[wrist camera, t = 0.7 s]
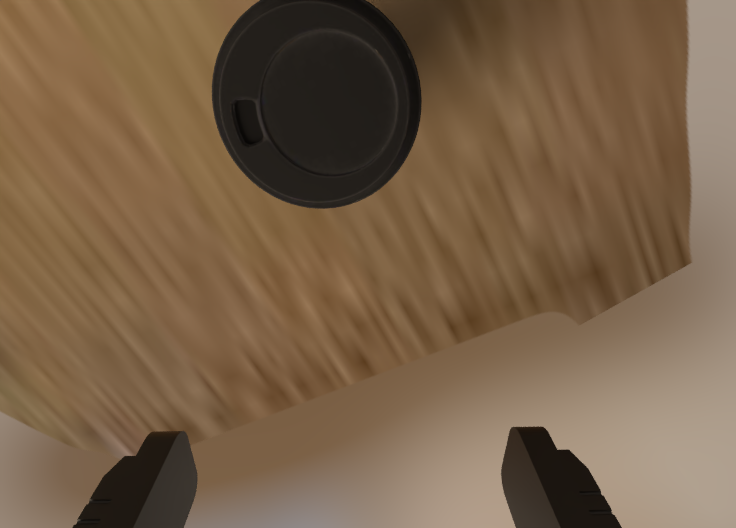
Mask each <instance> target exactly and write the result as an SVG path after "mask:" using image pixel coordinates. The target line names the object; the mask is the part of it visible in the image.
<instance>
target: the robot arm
mask: <svg viewBox="0 0 736 528" xmlns="http://www.w3.org/2000/svg"><path fill="white" fill-rule="evenodd" d="M501 476H502V484H503V490H504V494H505V497H506V500H507V503H508V506H509V509H510V512H511V514H512V518H513V520H514V523H515V526H516V528H622V527H621V526H620V524H619V522H618V520H617V519H616V517H615V515H613V514H612V512H611V508H610V506H609V505H608V503H607V501H606V499H605V497H604V496H602V495H601V491H600V489H599V487H598V485H597V484H596V482H595V480H594V478H593V476H592V475H591V473H590V471H589V469H588V468H587V467H586V466H585V465H584V464H583V463H582V462H581V461H580V460H579V459H578V458H577V457H576V456H575V455H574V454H573V453H571V451H570V450H557V448H556V447H555V445H554V443H553V441H552V439H551V437H550V435H549V433H548V431H547V430H546V429H545V428H544V427H512V428H511V429H510V433H509V436H508V441H507V446H506V450H505V455H504V459H503V464H502V470H501ZM196 488H197V470H196V467H195V463H194V459H193V455H192V452H191V448H190V444H189V440H188V436H187V434H186V432H184V431H167V432H151V433H150V434H149V435H148V436H147V437H146V439H145V440H144V442H143V444H142V446H141V448H140V449H139V451H138V453H137V455H136V456H124V457H123V458H122V459H121V460H120V461H119V462H118V463H117V464H116V465H115V466H114V467H113V468H112V469H111V470H110V471H109V472H108V473H107V474H106V475H105V476H104V477H103V478H102V480H101V482H100V483H99V485H98V487H97V488H96V490H95V492H94V493H93V495H92V497H91V498H90V501H89V504H88V505H86V506H85V508H84V510H83V511H82V513H81V515H80V516H79V518H78V521H77V524H76V525H74V526H73V528H184V525H185V522H186V520H187V517H188V514H189V511H190V509H191V506H192V503H193V501H194V497H195V493H196Z"/></svg>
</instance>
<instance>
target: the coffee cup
mask: <svg viewBox="0 0 736 528" xmlns="http://www.w3.org/2000/svg"><path fill="white" fill-rule="evenodd" d="M212 103H213V111H214V116H215V120H216V124H217V128H218V131H219V134H220V136H221V139H222V141H223V143H224V145H225V147H226V149H227V151H228V153H229V154H230V156H231V157H232V159H233V161H234V162H235V163H236V165H237V166H238V167H239V168H240V170H241V171H242V172H243V173H244V174H245V175H246V176H247V177H248V178H249V179H250V180H251V181H252V182H253V183H255V184H256V185H257V186H258V187H259V188H261V189H262V190H264V191H265V192H267V193H269V194H270V195H272V196H274V197H276V198H278V199H280V200H282V201H285V202H287V203H290V204H294V205H297V206H302V207H307V208H320V209H325V208H336V207H341V206H345V205H349V204H352V203H355V202H358V201H360V200H362V199H364V198H366V197H368V196H370V195H372V194H373V193H375V192H376V191H378V190H379V189H380V188H381V187H383V186H384V185H385V184H386V183H387V182H388V181H389V180H390V179H391V178H392V177H393V176H394V175H395V174H396V173H397V171H398V170H399V169H400V167H401V166H402V165H403V163H404V161H405V160H406V158H407V156H408V154H409V152H410V150H411V148H412V146H413V143H414V141H415V138H416V135H417V131H418V127H419V122H420V115H421V88H420V80H419V76H418V71H417V68H416V65H415V61H414V59H413V56H412V54H411V52H410V49H409V48H408V46H407V44H406V42H405V40H404V39H403V37H402V35H401V34H400V32H399V31H398V30H397V28H396V27H395V26H394V24H393V23H392V22H391V21H390V20H389V19H388V18H387V17H386V16H385V15H384V14H383V13H382V12H381V11H380V10H378V9H377V8H376V7H374V6H373V5H372V4H370V3H369V2H367V1H366V0H260V1H259V2H257V3H256V4H254V5H253V6H251V7H250V8H249V9H248V10H247V11H246V12H245V13H244V14H243V15H242V16H241V17H240V18H239V19H238V20H237V21H236V23H235V24H234V25H233V26H232V28H231V29H230V31H229V32H228V34H227V36H226V37H225V39H224V41H223V44H222V46H221V48H220V51H219V53H218V56H217V59H216V63H215V67H214V73H213V81H212Z"/></svg>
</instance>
